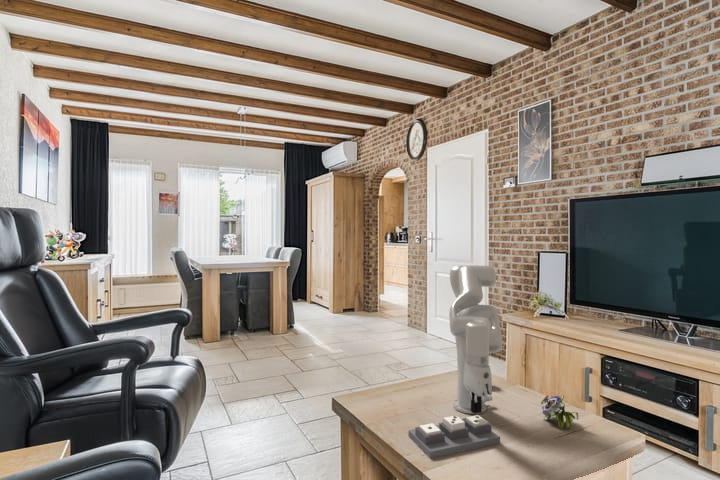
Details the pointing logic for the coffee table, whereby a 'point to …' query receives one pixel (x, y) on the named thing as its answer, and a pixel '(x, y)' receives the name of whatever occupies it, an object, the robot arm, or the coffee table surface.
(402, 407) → the coffee table surface
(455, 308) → the robot arm
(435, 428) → the one-dot tile
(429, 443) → the key board
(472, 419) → the two-dot tile
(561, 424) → the passion flower
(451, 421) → the three-dot tile
